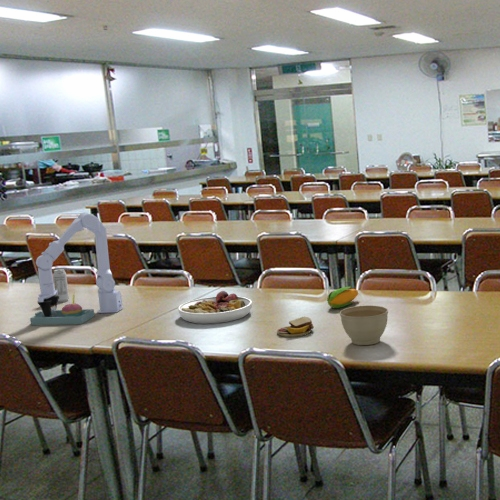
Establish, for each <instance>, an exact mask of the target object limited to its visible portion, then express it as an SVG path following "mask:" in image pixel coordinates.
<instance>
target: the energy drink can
mask: <svg viewBox="0 0 500 500" xmlns="http://www.w3.org/2000/svg"><path fill="white" fill-rule="evenodd" d="M52 274H53V283H54V290H58V294H57V295H56V296H59V299H58V302H57V303H65V302H68V301H69V300H70V295H69V289H68V288H69V287H68V278H67V272H66V270H65V269H64V268H59V269H55V270H53V272H52Z"/></svg>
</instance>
